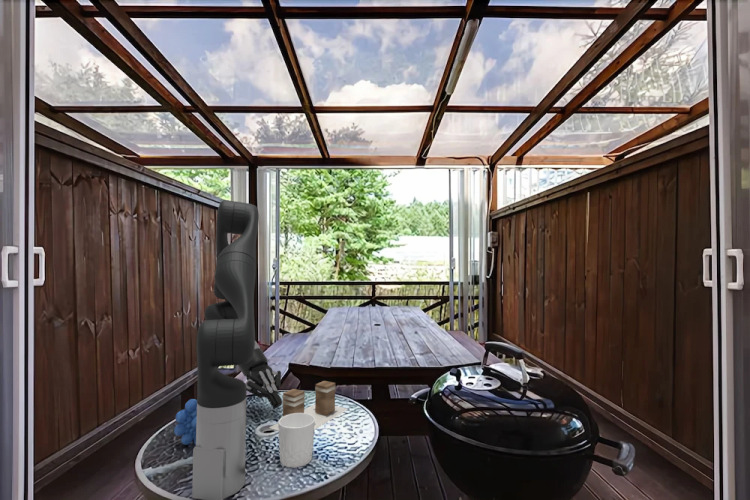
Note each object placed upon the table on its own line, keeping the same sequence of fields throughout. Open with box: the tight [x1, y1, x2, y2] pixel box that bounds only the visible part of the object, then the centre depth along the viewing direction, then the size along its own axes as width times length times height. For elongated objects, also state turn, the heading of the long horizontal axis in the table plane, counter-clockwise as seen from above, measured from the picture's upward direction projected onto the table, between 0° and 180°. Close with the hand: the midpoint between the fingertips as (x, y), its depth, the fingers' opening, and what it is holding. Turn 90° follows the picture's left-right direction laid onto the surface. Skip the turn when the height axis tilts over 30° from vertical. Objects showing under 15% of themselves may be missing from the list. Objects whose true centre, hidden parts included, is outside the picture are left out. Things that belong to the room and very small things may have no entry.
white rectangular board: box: [269, 403, 349, 432], centre depth 104 cm, size 11×21×2 cm, turn 150°
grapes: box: [173, 398, 197, 446], centre depth 92 cm, size 12×7×12 cm, turn 95°
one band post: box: [314, 380, 337, 416], centre depth 108 cm, size 4×4×8 cm
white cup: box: [278, 413, 315, 468], centre depth 82 cm, size 8×8×10 cm
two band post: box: [281, 388, 306, 417], centre depth 100 cm, size 4×4×8 cm
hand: (278, 405), depth 103 cm, fingers closed
